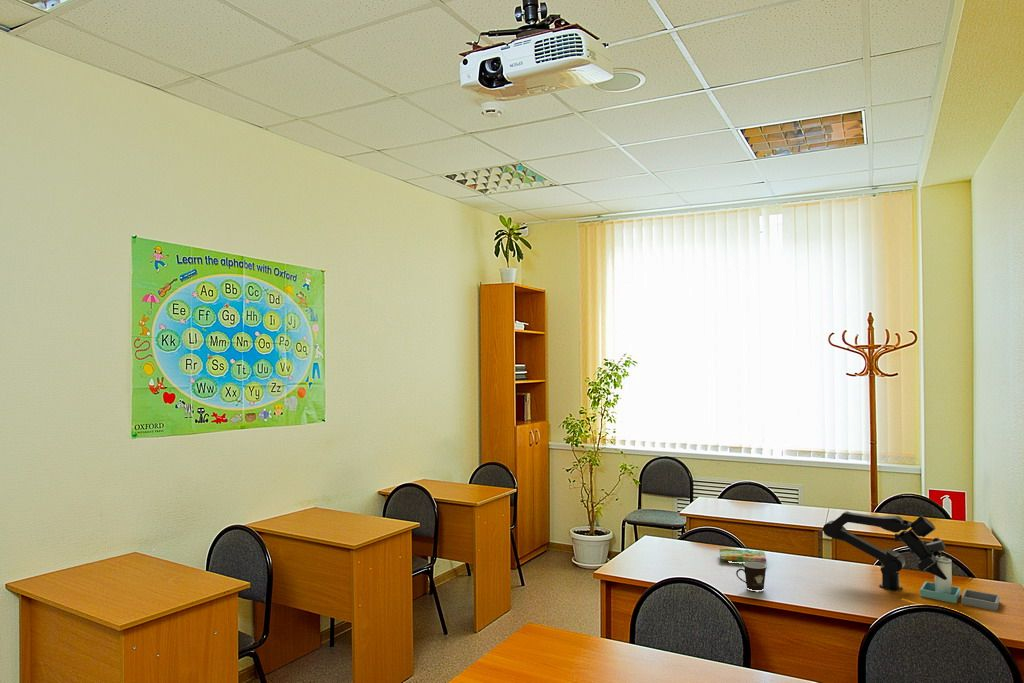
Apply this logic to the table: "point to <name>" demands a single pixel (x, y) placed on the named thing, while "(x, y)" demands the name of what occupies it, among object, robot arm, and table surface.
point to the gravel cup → (946, 568)
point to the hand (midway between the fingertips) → (947, 577)
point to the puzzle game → (743, 555)
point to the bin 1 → (929, 592)
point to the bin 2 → (980, 599)
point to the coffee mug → (754, 575)
